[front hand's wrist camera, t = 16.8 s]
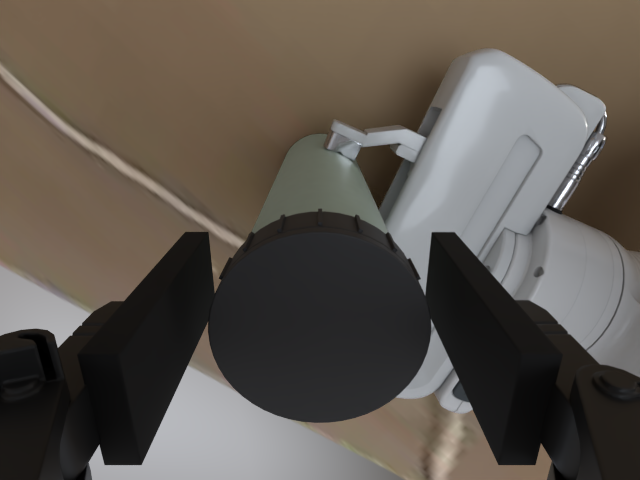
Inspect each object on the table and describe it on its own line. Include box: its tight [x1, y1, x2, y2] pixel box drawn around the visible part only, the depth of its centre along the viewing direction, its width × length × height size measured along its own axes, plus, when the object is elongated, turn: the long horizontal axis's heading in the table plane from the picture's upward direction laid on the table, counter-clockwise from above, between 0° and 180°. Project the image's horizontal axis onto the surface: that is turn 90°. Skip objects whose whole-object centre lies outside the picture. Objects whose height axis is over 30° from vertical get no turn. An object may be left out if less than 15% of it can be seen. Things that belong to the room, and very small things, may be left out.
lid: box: [208, 209, 431, 423], centre depth 11 cm, size 6×6×2 cm
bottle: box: [252, 134, 388, 234], centre depth 20 cm, size 5×5×19 cm
